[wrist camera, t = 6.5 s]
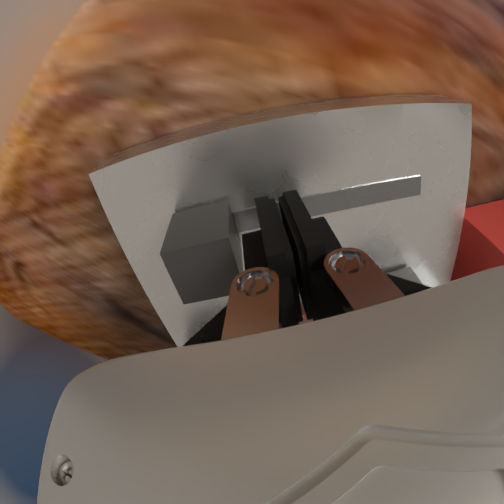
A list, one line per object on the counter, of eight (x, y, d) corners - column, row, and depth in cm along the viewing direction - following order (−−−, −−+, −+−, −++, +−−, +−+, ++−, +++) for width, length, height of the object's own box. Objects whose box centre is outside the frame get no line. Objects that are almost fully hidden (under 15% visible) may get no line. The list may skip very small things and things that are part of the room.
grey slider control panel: (437, 94, 12) (554, 137, 5) (421, 292, 21) (472, 373, 14) (111, 154, 13) (21, 240, 6) (199, 344, 22) (196, 447, 15)
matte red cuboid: (505, 199, 16) (554, 239, 12) (490, 259, 20) (529, 303, 15) (455, 210, 17) (509, 260, 12) (443, 276, 20) (481, 329, 15)
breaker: (227, 199, 12) (228, 237, 10) (241, 247, 13) (245, 292, 11) (172, 213, 12) (159, 253, 10) (190, 259, 14) (183, 304, 11)
